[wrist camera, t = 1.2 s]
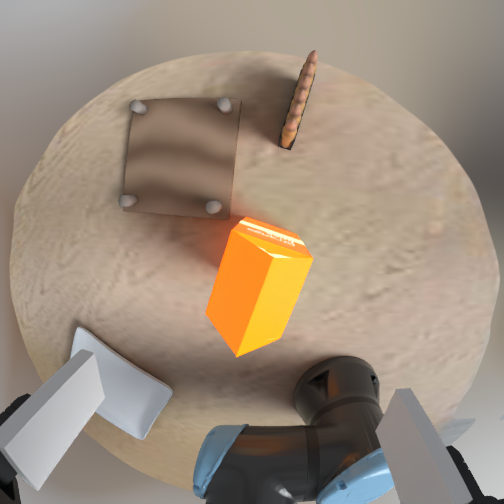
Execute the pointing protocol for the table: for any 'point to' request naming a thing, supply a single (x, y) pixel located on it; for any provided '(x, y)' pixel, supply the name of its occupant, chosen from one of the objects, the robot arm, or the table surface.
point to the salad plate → (124, 388)
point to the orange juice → (257, 284)
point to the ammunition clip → (298, 102)
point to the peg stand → (182, 157)
